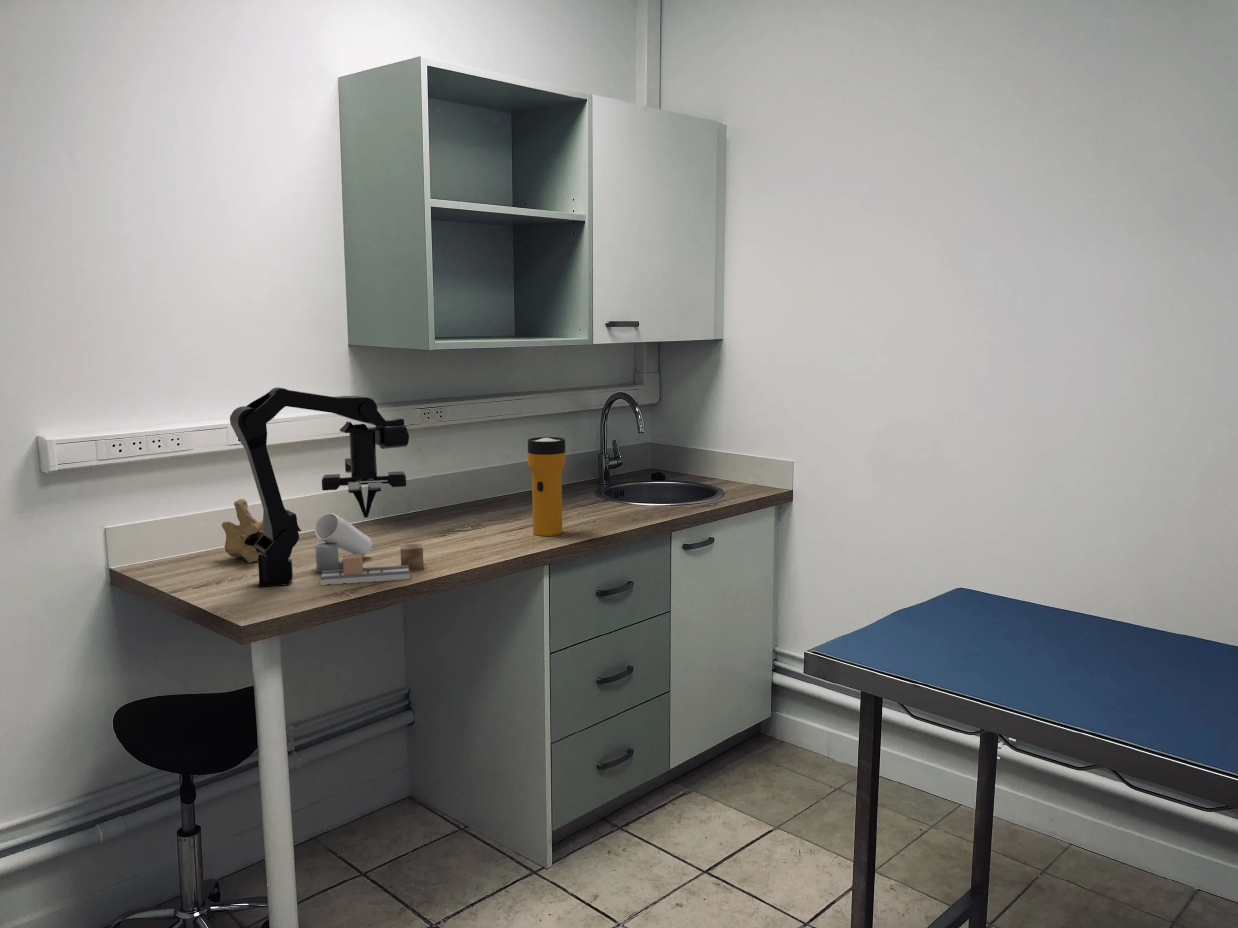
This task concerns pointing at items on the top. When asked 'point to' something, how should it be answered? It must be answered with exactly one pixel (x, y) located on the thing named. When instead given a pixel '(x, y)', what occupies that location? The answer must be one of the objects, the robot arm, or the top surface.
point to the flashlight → (546, 483)
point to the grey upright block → (327, 557)
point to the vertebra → (243, 534)
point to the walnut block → (412, 555)
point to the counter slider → (352, 564)
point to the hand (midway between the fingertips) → (366, 517)
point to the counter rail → (366, 575)
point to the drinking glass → (342, 534)
